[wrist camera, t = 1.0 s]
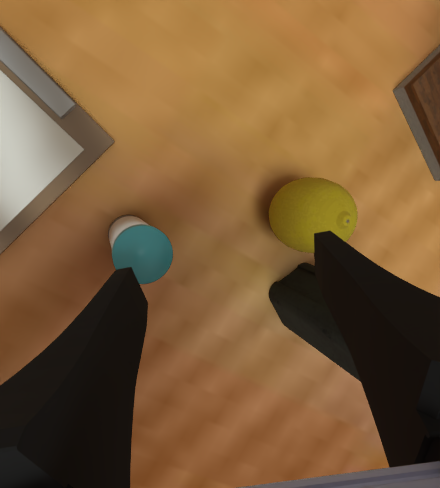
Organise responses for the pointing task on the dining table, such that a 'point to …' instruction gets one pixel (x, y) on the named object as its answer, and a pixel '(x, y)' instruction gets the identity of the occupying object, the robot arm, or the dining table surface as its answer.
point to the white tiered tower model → (424, 108)
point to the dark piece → (310, 315)
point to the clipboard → (38, 140)
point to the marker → (139, 248)
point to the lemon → (311, 212)
